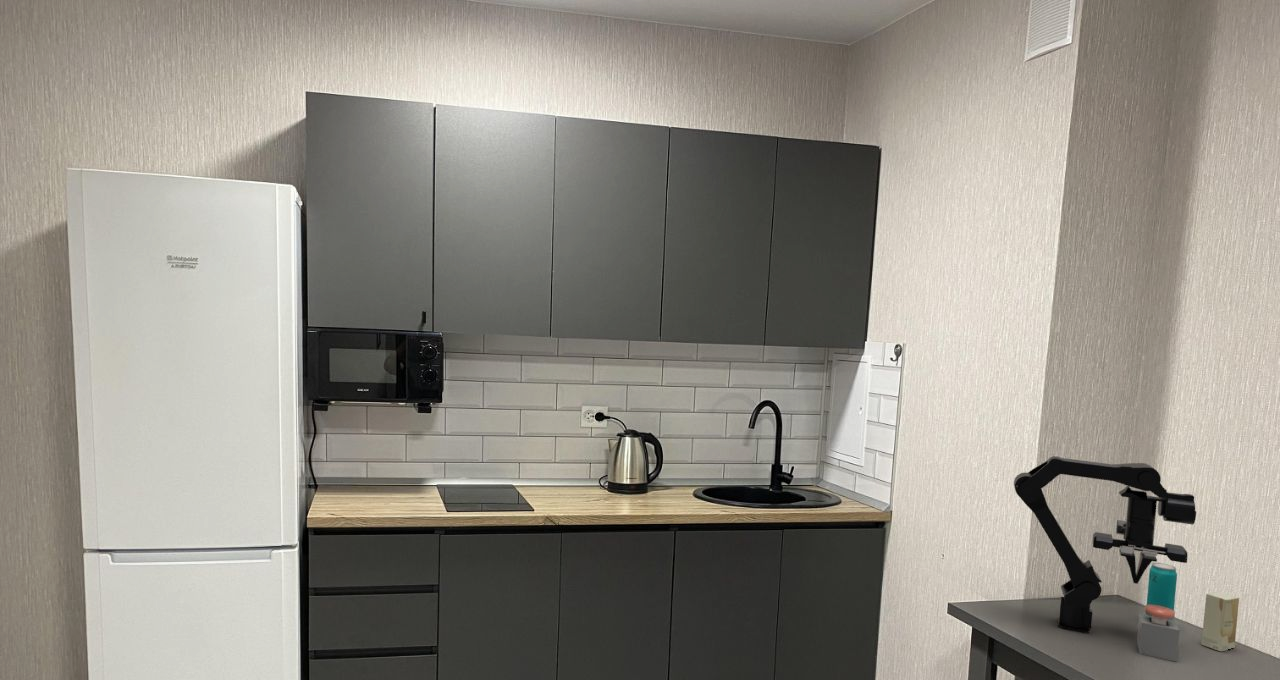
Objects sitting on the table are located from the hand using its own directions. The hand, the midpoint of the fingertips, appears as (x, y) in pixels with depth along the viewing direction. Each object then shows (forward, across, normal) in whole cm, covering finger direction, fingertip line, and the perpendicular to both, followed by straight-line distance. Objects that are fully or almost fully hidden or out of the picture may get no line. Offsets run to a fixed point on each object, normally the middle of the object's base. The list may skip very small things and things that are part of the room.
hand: (1135, 583), depth 189 cm
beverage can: (+13, -7, -15) cm, 21 cm away
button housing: (+13, -4, +7) cm, 15 cm away
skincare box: (+13, -18, -7) cm, 23 cm away
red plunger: (+11, -5, +7) cm, 13 cm away
